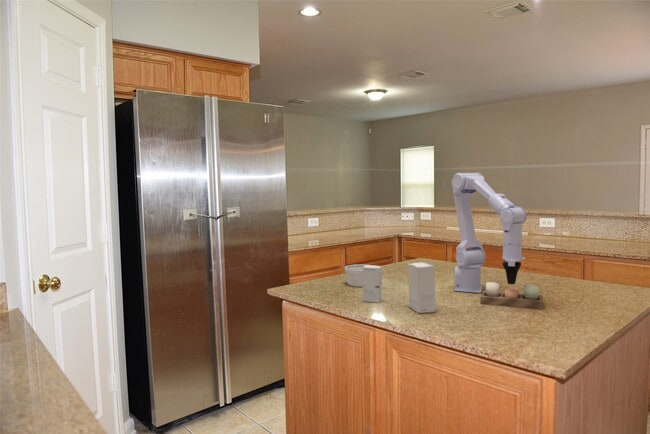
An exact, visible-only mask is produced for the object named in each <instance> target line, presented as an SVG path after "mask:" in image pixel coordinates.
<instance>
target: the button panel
mask: <svg viewBox="0 0 650 434" xmlns="http://www.w3.org/2000/svg"><path fill="white" fill-rule="evenodd" d="M479 300H480V302H479V303H480V305H488V306H489V305H490V306H500V307H501V306H502V307H511V308H512V307H514V308H521V309H523V308H524V309H525V308H526V309H535V310H544V299H543V295H542V294H538V299H537V300H532V299H525V298H524V293H519V292H518V298H507V297H505V291H499V296H497V297H495V296H487V295H486V290H482V291H481V293H480V298H479Z"/></svg>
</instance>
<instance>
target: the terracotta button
mask: <svg viewBox="0 0 650 434" xmlns="http://www.w3.org/2000/svg"><path fill="white" fill-rule="evenodd" d="M504 292H505V297H507V298H518V293H519V290H518V289H514V288H513V289H512V288H507V289H504Z"/></svg>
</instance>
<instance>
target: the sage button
mask: <svg viewBox="0 0 650 434" xmlns="http://www.w3.org/2000/svg"><path fill="white" fill-rule="evenodd" d="M523 286H524V287H523V294H524V298H525V299H532V300H537V299H538V295H539V286H538V285H535V284H525V285H523Z"/></svg>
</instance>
